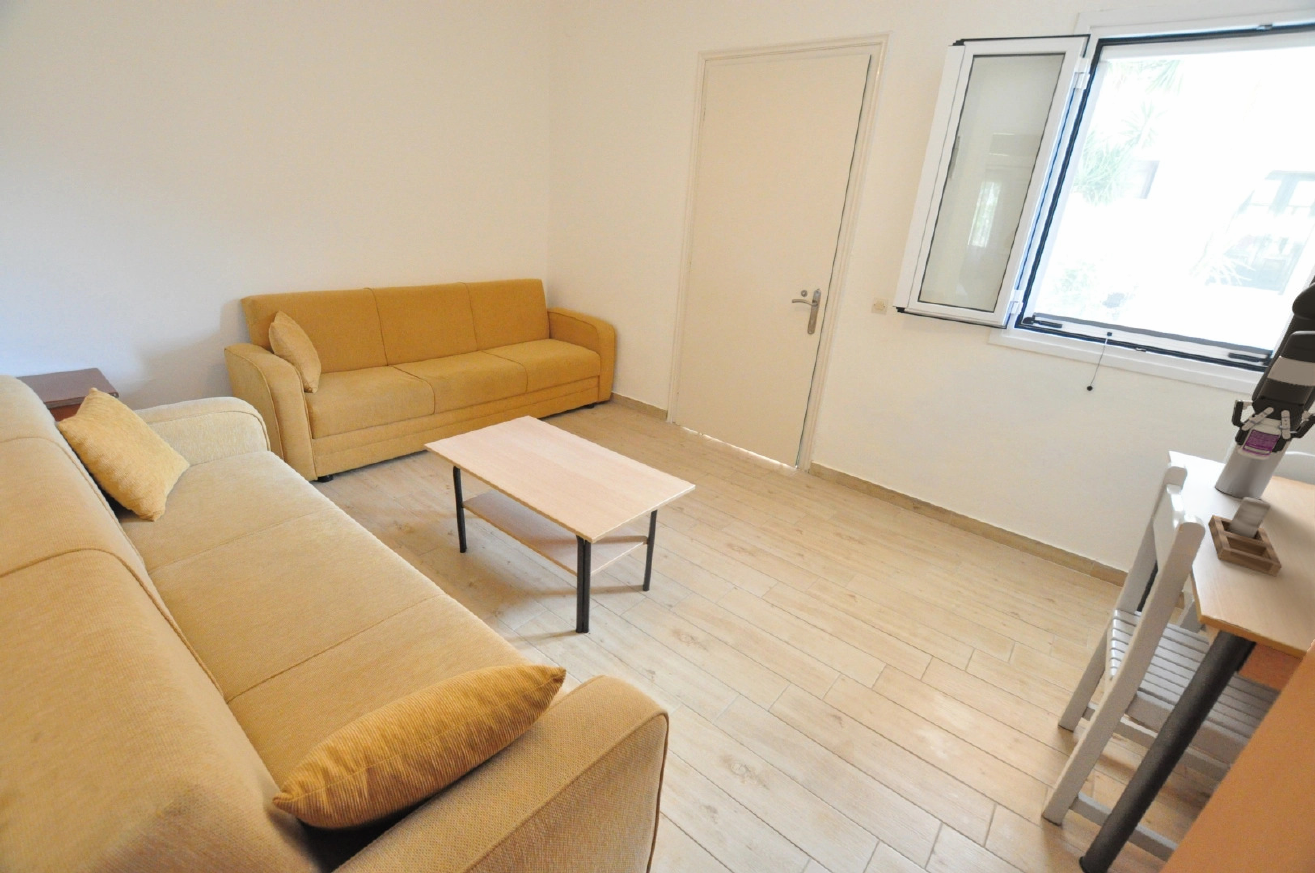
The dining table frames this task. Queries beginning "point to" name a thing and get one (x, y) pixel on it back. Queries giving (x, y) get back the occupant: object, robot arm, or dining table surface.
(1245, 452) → the pill bottle
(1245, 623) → the dining table surface
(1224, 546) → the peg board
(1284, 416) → the robot arm
